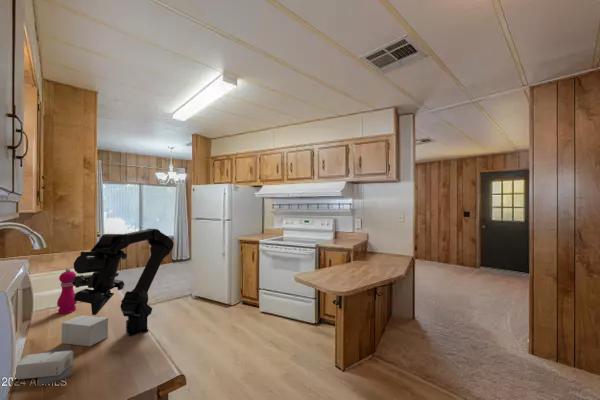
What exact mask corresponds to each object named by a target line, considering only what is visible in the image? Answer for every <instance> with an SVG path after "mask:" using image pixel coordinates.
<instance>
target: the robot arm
mask: <svg viewBox="0 0 600 400" xmlns="http://www.w3.org/2000/svg"><path fill="white" fill-rule="evenodd" d="M143 241H147V243H148V244H149V246H150V248H149V250H150V256H149V259H148V260H147V263H146V264H145V267H144V269H143V271H142V273H141V274H140V276H139V278H138V280H137V283H136V285H135V287H134V288H133V289H132V290H131V291H126V292H125V294H124V296H123V298H122V299H121V300H120V303H121V304H120V311H121V313H122V315H123V317H127V319H126V320H125V332H126V334H128V336H129V337H132V336H136V335H139V334H142V333H146V332H149V328H148V317H149V316H150V315H151V314H152V312H153V307H151V306H150V305H149V304H148V302H149V290H150V288H151V285H152V284H153V281H154V280H155V277H156V275H157V272H158V270H159V268H160V266H161V264H162V262H163V260H164V259H165V258H166V257H168V255H170V254H171V252H172V250H173V249H174V241H173V240H172V238H170V237H169V235H166V234H164V233H163V232H161V231H160V230H159V229H158V228H147V229H144V230H143V229H142V230H138V231H133V232H128V233H127V232H126V233H104V234H103V235H101V237H100V238H99V240H98V241H97V242H96V244H94V246H93V247H92V248H91V250H89V251H81V252H80V255H79V256H77V257H76V259H75V260H74V262H73V270H74V271H75V273H76V274H80V275H76V276H75V277H74V279H73V282H72V284H73V287H75V288H77V289H78V288H81V287H87V288H84V289H82V290H79V291H77V292H74V293H75V295H74V299H73V300H75V301H77V302H81V303H85V304H90V306H91V315H92V316H97V315H98V314H99V313H100V311H101V310H102V309H103V307H104V306H105V305H106V304H107V303H108V302H109V300H110V299H111V298H112V297H113V296H114V295H115V293H114V292H111V290H113V289H114V288H117V291H121V290H123V289H124V286H125V282H124V281H123V280H120V279H116V277H118V276H119V274H120V272H118V269H119V265H120V263H121V260H122V259H123V258H127V254H126V253H125V252H124V250H123V249H126V248H128V247H129V246H130V245H131V244H136V243H140V242H143ZM89 273H92V274H89ZM83 274H86V275H83ZM147 328H148V329H147Z"/></svg>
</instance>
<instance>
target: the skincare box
mask: <svg viewBox="0 0 600 400" xmlns="http://www.w3.org/2000/svg"><path fill="white" fill-rule="evenodd" d="M16 363H17V367H16V374H15V378H16V379H18V380H24V379H26V380H27V379H35V378H39V377H47V376H57V375H61V374H62V373H63V372H64V371H65V370H66V369H67V368H68V367H69V366H70V365H71V366H72V364H73V363H74V351H73V350H71V351H61V352H51V353H43V352H42V353H41V352H40V353H31V354H27V355H26V356H24V357H23V358H22V359H20V360H18V361H17V362H16Z"/></svg>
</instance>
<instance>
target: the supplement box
mask: <svg viewBox="0 0 600 400" xmlns="http://www.w3.org/2000/svg"><path fill="white" fill-rule="evenodd" d="M108 336H109V318H108V317H101V316H93V315H92V316H91V315H90V316H89V315H79V316H76V317H74V318H71V319H68V320H66V321H62V322H61V337H60V339H61V341H60V342H61V344H68V345H74V346H75V345H76V346H84V347H92V346H94V345H95V344H97V343H99V342H101V341H104V340H106V339H107V338H108Z"/></svg>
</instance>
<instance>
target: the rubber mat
mask: <svg viewBox="0 0 600 400" xmlns="http://www.w3.org/2000/svg"><path fill="white" fill-rule="evenodd" d="M61 351H72V344H68V345H66V346H62V347H61V346H60V347H58V348H53V349H49V350H45V351H43V352H42V353H51V352H61ZM68 378H72V365H70V366H69V367H68V368H67V369H66V370H65V371H64V372H63V373H62V374H61V375H57V376H47V377H38V380H37V381H38V382H37V387H38V386H39V385H42V384H46V385H49V384H51V383H52V384H53V383H55V382H59V381H63V380H65V379H68Z"/></svg>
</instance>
